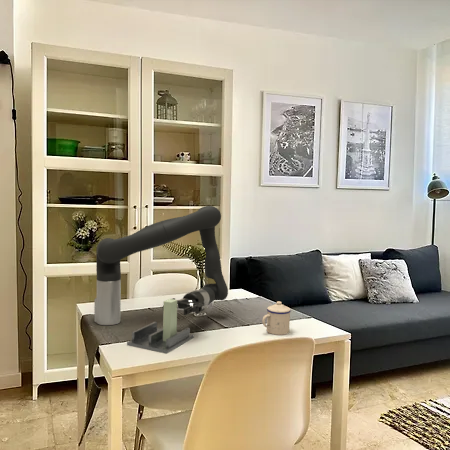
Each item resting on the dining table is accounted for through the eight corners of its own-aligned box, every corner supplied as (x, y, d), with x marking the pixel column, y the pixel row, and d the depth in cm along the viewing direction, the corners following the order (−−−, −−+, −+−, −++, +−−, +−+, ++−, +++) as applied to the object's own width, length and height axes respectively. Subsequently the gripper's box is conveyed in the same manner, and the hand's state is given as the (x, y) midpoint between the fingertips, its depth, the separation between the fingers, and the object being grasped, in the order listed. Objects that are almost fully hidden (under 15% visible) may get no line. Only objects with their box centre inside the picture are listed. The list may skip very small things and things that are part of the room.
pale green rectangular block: (162, 340, 155) (163, 301, 154) (169, 337, 159) (170, 298, 158) (170, 342, 154) (170, 302, 153) (176, 339, 158) (177, 300, 156)
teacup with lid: (279, 326, 179) (281, 297, 178) (294, 333, 171) (296, 303, 170) (255, 330, 172) (256, 301, 171) (269, 338, 165) (270, 307, 164)
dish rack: (127, 344, 153) (127, 333, 153) (156, 330, 170) (156, 320, 169) (166, 353, 147) (167, 341, 146) (193, 337, 163) (193, 326, 162)
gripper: (180, 288, 175) (157, 297, 161) (213, 293, 169) (191, 302, 155) (180, 307, 176) (156, 317, 161) (212, 312, 170) (191, 323, 155)
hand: (174, 310), depth 158 cm, fingers open, 8 cm apart
